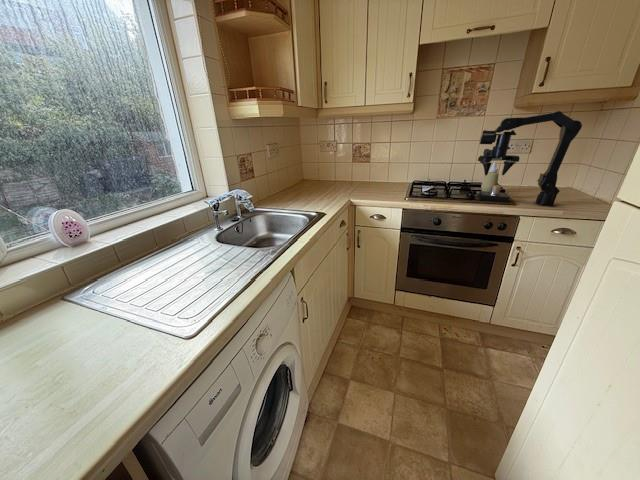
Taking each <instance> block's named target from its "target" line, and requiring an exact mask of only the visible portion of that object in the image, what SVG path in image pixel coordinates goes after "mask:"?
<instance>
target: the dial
mask: <svg viewBox="0 0 640 480" xmlns="http://www.w3.org/2000/svg"><path fill="white" fill-rule="evenodd" d="M501 188H502V185H499V184H497V185H492V186H491V190H490V194H493V195H499V193H501Z"/></svg>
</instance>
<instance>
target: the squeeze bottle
mask: <svg viewBox="0 0 640 480" xmlns="http://www.w3.org/2000/svg"><path fill="white" fill-rule="evenodd" d="M498 170H499V169H498V168H497V161H493V164H491V166H490V169H489V172H488V174H487V176H486V175H485V174H484V176H483V180H482V183H481V186H480V188H481V191H486V192H490V190H491V186H492V185H498V182H499V175H500V174H499V172H498Z"/></svg>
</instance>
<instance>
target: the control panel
mask: <svg viewBox="0 0 640 480" xmlns="http://www.w3.org/2000/svg"><path fill="white" fill-rule="evenodd" d="M478 198H479V201H484V202H485V201H487V202H495V203H497V202H498V203H508V204H509V201H510V198H511V197H510V195H508V193H507V192H499V195H493V194H490V192H486V191H482V190H479V194H478Z"/></svg>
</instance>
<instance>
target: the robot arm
mask: <svg viewBox="0 0 640 480" xmlns="http://www.w3.org/2000/svg"><path fill="white" fill-rule="evenodd" d="M546 122H553V123H554V124H555V125H556V126H558V127H559V128H560V129H559V136H558V142H557V145H556V148H555V150H554V152H553V154H552V157H551V159H550V161H549V164H548V166H547V169H546V171H545V172H544V173H539V177H538V179H537V180H536V182H537V185H538V187H539V188H540V191H539V193H538V194H537V197H536V199H535V203H536V204H537V205H539V206H547V207H555V201H556V198H557V196H558V195H559V193H560V192H561V190H560V189H559V187H557V182H558V172H559V170H560V167H561V165H562V163H563V161H564V160H565V159H564V158H565V156H566V154H567V152H568V149H569V147H570V145H571V143H572V142H573V140H574V139H575V138H576V137H577V136H578V134H579V133H580V131H581V129H582V127H583V123H582V122H581V121H579V120H578V119H577V120H576V119H572V118H571V117H570V116H568V115H566V114H564V113H563V112H562V111H561V110H556V111H552V112H547V113H541V114H536V115H530V116H525V117H506V118H504V119H502V120H501V121H500V123H499V126H498V127H497V128H495V130H482V133H481V136H480V139H479V145H493V143H495V146H494V145H493V147H492V149H490V148H485V149H484V150H483V152H482V153H483V155H480V156H478V158H477V161H478V162H479V163H480V164H481V165H482V166H483V170H484V171H483V172H484V176H485V175H486V176H487V174H488V172H489V169H490V168H491V167H492V161H493V162H496V161H503V168H502V172H501V176H505V175H506V174H507V172H508V171H509V170H510V169H511V168H512V167H513V166H514V165H516V164H517V163H519V162H520V159H521V158H520V156H519V155H514V154H508V150H510V149H511V146H509V145H510V142H511V138H512V136H517V133H516V132H515V130H514V129H517V128H520V127H524V126H528V125H534V124H535V125H536V124H539V123H546Z"/></svg>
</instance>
